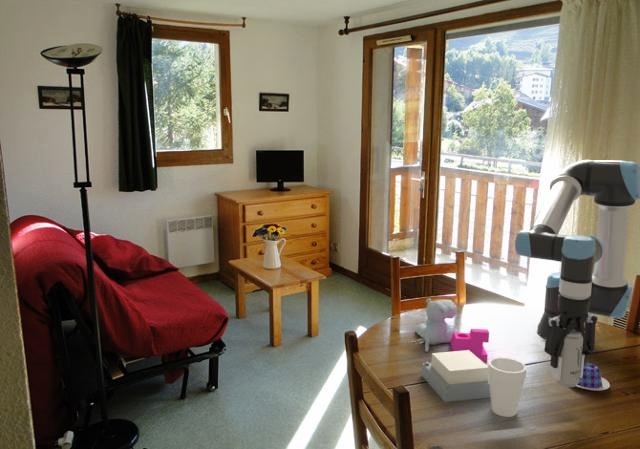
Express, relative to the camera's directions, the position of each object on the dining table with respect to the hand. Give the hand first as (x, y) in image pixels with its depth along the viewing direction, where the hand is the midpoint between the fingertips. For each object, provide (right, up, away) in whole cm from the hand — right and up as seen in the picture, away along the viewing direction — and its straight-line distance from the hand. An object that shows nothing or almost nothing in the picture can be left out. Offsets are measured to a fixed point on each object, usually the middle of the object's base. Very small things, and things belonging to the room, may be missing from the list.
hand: (566, 376), depth 140 cm
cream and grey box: (-26, -6, +12) cm, 29 cm away
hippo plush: (-26, 0, +45) cm, 52 cm away
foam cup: (-18, -9, -2) cm, 20 cm away
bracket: (-17, -3, +34) cm, 38 cm away
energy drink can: (0, -2, 0) cm, 2 cm away
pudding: (+13, -6, +15) cm, 21 cm away
